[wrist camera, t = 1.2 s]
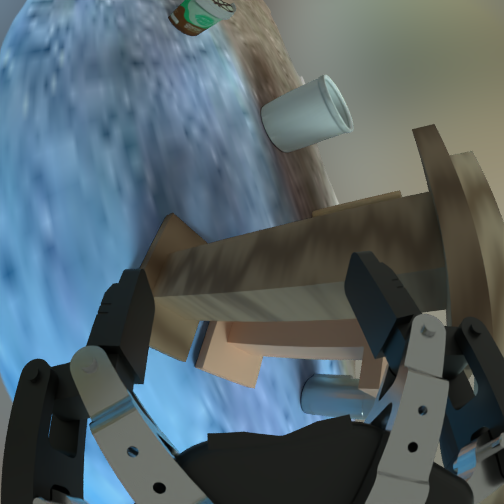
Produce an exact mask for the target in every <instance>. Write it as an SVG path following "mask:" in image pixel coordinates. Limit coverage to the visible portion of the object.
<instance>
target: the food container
mask: <svg viewBox="0 0 504 504" xmlns="http://www.w3.org/2000/svg"><path fill="white" fill-rule="evenodd" d="M235 11H236V6H235V4H234V3H232V4H228V3H225V2H223V1H222V0H185V1H184V2H183V3H182V4H181V5H180V6H179V7H178V8H177V9H176V10H175V11H174V12H173V13H172V14H171V15H170V16H169V17H168V18H169V20H170V22H171V23H172V24H173V25H174V26H175V27H176V28H177V29H178V30H180V31H181V32H183V33H184V34H187V35H189V36H197V35H198V34H200V33H201V32H203V31H205V30H206V29H208V28H209V27H211V26H213V25H214V24H216V23H217V22H219V21H221V20H223V19H224V20H227V19H229V18H230V17H231V16H232V15H233V14H234V12H235Z"/></svg>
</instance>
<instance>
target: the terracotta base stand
mask: <svg viewBox="0 0 504 504" xmlns="http://www.w3.org/2000/svg"><path fill="white" fill-rule="evenodd" d="M263 356H268V357H281V358H297V359H320V360H362V366H361V373H360V380H359V386H358V389H360V390H362V391H363V392H365V393H367V394H369V395H371V396H373V397H375V398H376V397H377V394H378V391H379V388H380V385H381V382H382V378H383V375H384V372H385V369H386V366H387V364H388V362H387V360H386V358H385V357H383V358H379V359H375V358H374V356H373V354H372V352H371V349H370V347H369V345H368V342H367V340H366V338H365V336H364V334H363V331H362V329H361V327H360V325H359V323H358V321H357V318H355V319H338V320H317V321H277V322H239V321H210V322H209V326H208V329H207V332H206V335H205V338H204V341H203V344H202V347H201V350H200V353H199V356H198V359H197V363H196V366H195V367H196V368H198V369H200V370H203V371H205V372H208V373H210V374H213V375H216V376H218V377H221V378H223V379H226V380H229V381H232V382H234V383H237V384H240V385H243V386H246V387H250V388H255V385H256V381H257V378H258V374H259V370H260V366H261V362H262V358H263Z"/></svg>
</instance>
